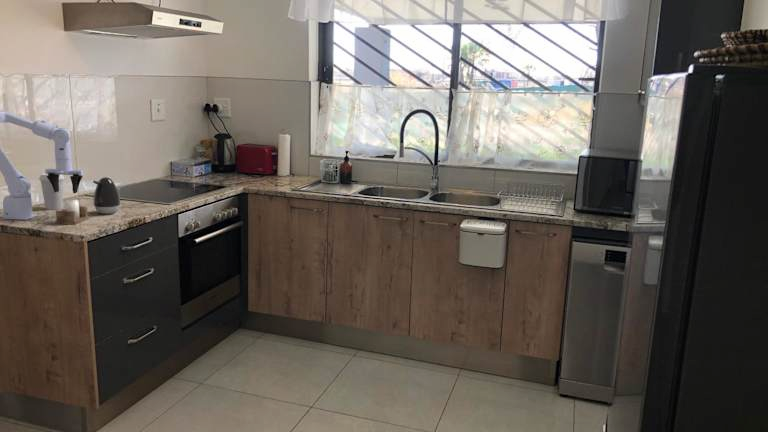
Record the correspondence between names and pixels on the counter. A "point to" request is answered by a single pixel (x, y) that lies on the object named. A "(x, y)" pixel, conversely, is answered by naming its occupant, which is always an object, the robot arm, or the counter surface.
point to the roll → (73, 207)
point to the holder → (71, 216)
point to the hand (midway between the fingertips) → (66, 192)
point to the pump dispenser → (106, 196)
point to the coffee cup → (52, 193)
